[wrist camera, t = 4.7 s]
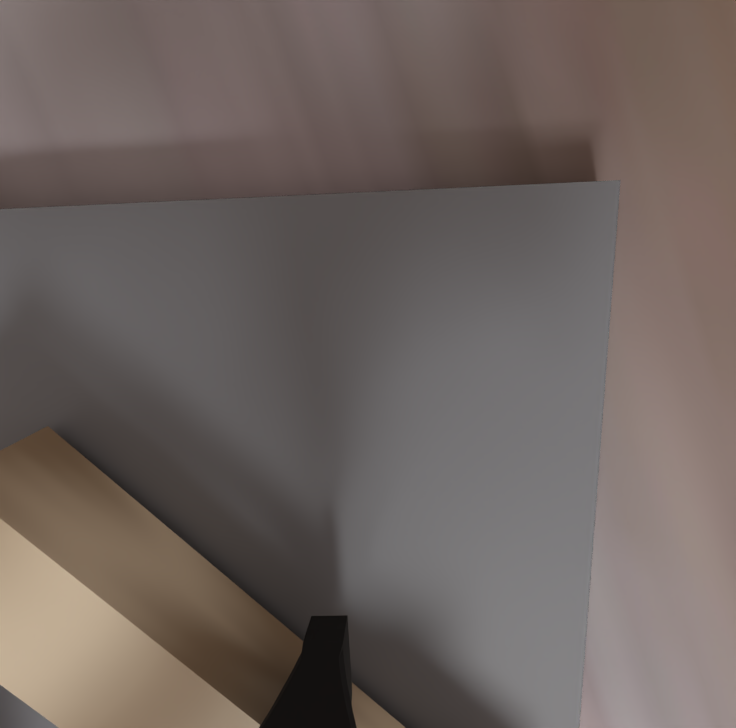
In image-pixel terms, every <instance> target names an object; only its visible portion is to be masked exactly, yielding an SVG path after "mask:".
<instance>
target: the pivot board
mask: <svg viewBox="0 0 736 728" xmlns="http://www.w3.org/2000/svg"><path fill="white" fill-rule="evenodd" d="M619 192H620V180H614V181H592V182H571V183H549V184H528V185H507V186H485V187H464V188H442V189H421V190H399V191H378V192H356V193H335V194H313V195H292V196H270V197H249V198H227V199H206V200H184V201H163V202H141V203H120V204H99V205H77V206H56V207H34V208H13V209H0V450H2V449H4V448H6V447H8V446H10V445H12V444H14V443H16V442H18V441H20V440H22V439H24V438H26V437H28V436H30V435H32V434H33V433H35V432H37V431H39V430H41V429H43V428H45V427H47V426H48V427H50V428H51V429H52V430H53V431H54V432H55V433H57V434H58V435H59V436H60V437H61V438H63V439H64V440H65V441H66V442H67V443H69V444H70V445H71V446H72V447H73V448H74V449H76V450H77V451H78V452H79V453H80V454H82V455H83V456H84V457H85V458H86V459H88V460H89V461H90V462H91V463H92V464H93V465H95V466H96V467H97V468H98V469H99V470H101V471H102V472H103V473H104V474H105V475H107V476H108V477H109V478H110V479H111V480H112V481H114V482H115V483H116V484H117V485H118V486H120V487H121V488H122V489H123V490H124V491H125V492H127V493H128V494H129V495H130V496H131V497H133V498H134V499H135V500H136V501H137V502H139V503H140V504H141V505H142V506H143V507H144V508H146V509H147V510H148V511H149V512H150V513H152V514H153V515H154V516H155V517H156V518H158V519H159V520H160V521H161V522H162V523H163V524H165V525H166V526H167V527H168V528H169V529H171V530H172V531H173V532H174V533H175V534H177V535H178V536H179V537H180V538H181V539H182V540H184V541H185V542H186V543H187V544H188V545H190V546H191V547H192V548H193V549H194V550H195V551H197V552H198V553H199V554H200V555H201V556H203V557H204V558H205V559H206V560H207V561H209V562H210V563H211V564H212V565H213V566H214V567H216V568H217V569H218V570H219V571H220V572H222V573H223V574H224V575H225V576H226V577H228V578H229V579H230V580H231V581H232V582H233V583H235V584H236V585H237V586H238V587H239V588H241V589H242V590H243V591H244V592H245V593H247V594H248V595H249V596H250V597H251V598H252V599H254V600H255V601H256V602H257V603H258V604H260V605H261V606H262V607H263V608H264V609H265V610H267V611H268V612H269V613H270V614H271V615H273V616H274V617H275V618H276V619H277V620H279V621H280V622H281V623H282V624H283V625H284V626H286V627H287V628H288V629H289V630H290V631H292V632H293V633H294V634H295V635H296V636H298V637H299V638H300V639H301V640H302V641H304V638H305V634H306V631H307V628H308V625H309V622H310V619H311V616H344V615H348V631H349V647H350V663H351V679H352V683H353V684H354V685H356V686H357V687H358V688H359V689H360V690H362V691H363V692H364V693H365V694H366V695H368V696H369V697H370V698H371V699H372V700H373V701H375V702H376V703H377V704H378V705H379V706H381V707H382V708H383V709H384V710H385V711H387V712H388V713H389V714H390V715H391V716H392V717H394V718H395V719H396V720H397V721H398V722H400V723H401V724H402V725H403V726H404V727H405V728H579V726H580V712H581V699H582V686H583V672H584V659H585V646H586V632H587V619H588V606H589V592H590V579H591V566H592V552H593V539H594V526H595V512H596V499H597V486H598V472H599V459H600V446H601V432H602V419H603V405H604V392H605V379H606V365H607V352H608V339H609V325H610V312H611V299H612V285H613V272H614V259H615V245H616V232H617V219H618V205H619ZM0 728H58V727H57V726H56V725H54V724H53V723H52V722H50V721H49V720H48V719H46V718H45V717H43V716H42V715H41V714H39V713H38V712H37V711H35V710H34V709H33V708H31V707H30V706H28V705H27V704H26V703H24V702H23V701H22V700H20V699H19V698H18V697H16V696H15V695H13V694H12V693H11V692H9V691H8V690H7V689H5V688H4V687H3V686H1V685H0Z"/></svg>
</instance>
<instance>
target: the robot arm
mask: <svg viewBox="0 0 736 728" xmlns="http://www.w3.org/2000/svg"><path fill="white" fill-rule="evenodd" d="M259 728H357V727H356V722H355V718H354V714H353V709H352V679H351V663H350V647H349V631H348V615H344V616H311V619H310V622H309V625H308V628H307V631H306V634H305V638H304V641H303V646H302V652H301V654H300V656H299V658H298V660H297V662H296V664H295V666H294V668H293V670H292V672H291V674H290V675H289V677H288V679H287V681H286V683H285V684H284V686H283V688H282V690H281V692H280V693H279V695H278V697H277V699H276V701H275V702H274V704H273V706H272V707H271V709H270V711H269V712H268V714H267V716H266V717H265V719H264V720H263V722H262V724H261V725H260V727H259Z"/></svg>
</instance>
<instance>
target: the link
mask: <svg viewBox="0 0 736 728" xmlns="http://www.w3.org/2000/svg"><path fill="white" fill-rule="evenodd" d="M302 646H303V641H302V640H301V639H300V638H299V637H298V636H296V635H295V634H294V633H293V632H292V631H290V630H289V629H288V628H287V627H286V626H284V625H283V624H282V623H281V622H280V621H279V620H277V619H276V618H275V617H274V616H273V615H271V614H270V613H269V612H268V611H267V610H265V609H264V608H263V607H262V606H261V605H260V604H258V603H257V602H256V601H255V600H254V599H252V598H251V597H250V596H249V595H248V594H247V593H245V592H244V591H243V590H242V589H241V588H239V587H238V586H237V585H236V584H235V583H233V582H232V581H231V580H230V579H229V578H228V577H226V576H225V575H224V574H223V573H222V572H220V571H219V570H218V569H217V568H216V567H214V566H213V565H212V564H211V563H210V562H209V561H207V560H206V559H205V558H204V557H203V556H201V555H200V554H199V553H198V552H197V551H195V550H194V549H193V548H192V547H191V546H190V545H188V544H187V543H186V542H185V541H184V540H182V539H181V538H180V537H179V536H178V535H177V534H175V533H174V532H173V531H172V530H171V529H169V528H168V527H167V526H166V525H165V524H163V523H162V522H161V521H160V520H159V519H158V518H156V517H155V516H154V515H153V514H152V513H150V512H149V511H148V510H147V509H146V508H144V507H143V506H142V505H141V504H140V503H139V502H137V501H136V500H135V499H134V498H133V497H131V496H130V495H129V494H128V493H127V492H125V491H124V490H123V489H122V488H121V487H120V486H118V485H117V484H116V483H115V482H114V481H112V480H111V479H110V478H109V477H108V476H107V475H105V474H104V473H103V472H102V471H101V470H99V469H98V468H97V467H96V466H95V465H93V464H92V463H91V462H90V461H89V460H88V459H86V458H85V457H84V456H83V455H82V454H80V453H79V452H78V451H77V450H76V449H74V448H73V447H72V446H71V445H70V444H69V443H67V442H66V441H65V440H64V439H63V438H61V437H60V436H59V435H58V434H57V433H55V432H54V431H53V430H52V429H51V428H50V427H48V426H47V427H45V428H43V429H41V430H39V431H37V432H35V433H33V434H32V435H30V436H28V437H26V438H24V439H22V440H20V441H18V442H16V443H14V444H12V445H10V446H8V447H6V448H4V449H2V450H0V685H1V686H3V687H4V688H5V689H7V690H8V691H9V692H11V693H12V694H13V695H15V696H16V697H18V698H19V699H20V700H22V701H23V702H24V703H26V704H27V705H28V706H30V707H31V708H33V709H34V710H35V711H37V712H38V713H39V714H41V715H42V716H43V717H45V718H46V719H48V720H49V721H50V722H52V723H53V724H54V725H56V726H57V727H58V728H259V727H260V725H261V724H262V722H263V720H264V719H265V717H266V716H267V714H268V712H269V711H270V709H271V707H272V706H273V704H274V702H275V701H276V699H277V697H278V695H279V693H280V692H281V690H282V688H283V686H284V684H285V683H286V681H287V679H288V677H289V675H290V674H291V672H292V670H293V668H294V666H295V664H296V662H297V660H298V658H299V656H300V654H301V652H302ZM352 709H353V714H354V718H355V722H356V727H357V728H405V727H404V726H403V725H402V724H401V723H400V722H398V721H397V720H396V719H395V718H394V717H392V716H391V715H390V714H389V713H388V712H387V711H385V710H384V709H383V708H382V707H381V706H379V705H378V704H377V703H376V702H375V701H373V700H372V699H371V698H370V697H369V696H368V695H366V694H365V693H364V692H363V691H362V690H360V689H359V688H358V687H357V686H356V685H354V684H353V683H352Z"/></svg>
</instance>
